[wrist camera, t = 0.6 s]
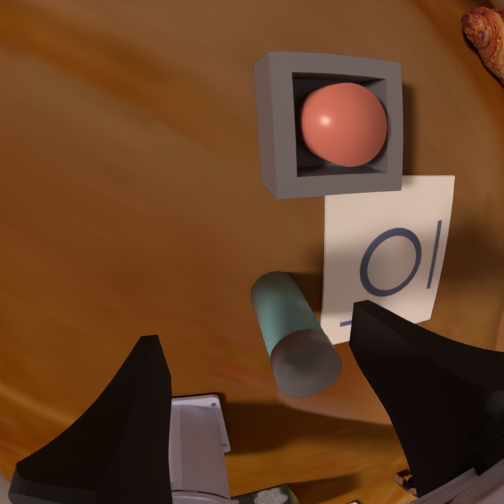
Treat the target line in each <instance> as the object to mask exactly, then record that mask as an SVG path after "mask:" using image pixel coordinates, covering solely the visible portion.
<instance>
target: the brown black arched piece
mask: <svg viewBox="0 0 504 504" xmlns="http://www.w3.org/2000/svg"><path fill="white" fill-rule="evenodd" d="M394 481H396V482H397V483H398V485H399V486H401V487H402V488H403V489H404V490H406V491H408V492H409V493H412V495H413V496H415V497H417V493H416V489H415V485H414V481H413V478H412V477H410V478H409V479H408V482H407V481H406V480H405V479H404V477H401V476H399V474H398V473H396V474H395V476H394Z"/></svg>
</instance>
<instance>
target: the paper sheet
mask: <svg viewBox="0 0 504 504" xmlns="http://www.w3.org/2000/svg"><path fill="white" fill-rule="evenodd" d="M454 179H455V176H453V175H402V188H401V191H387V192H369V193H354V194H340V195H326V196H325V236H324V269H323V292H322V310H321V325H320V326H321V327H322V329H323V331H324V333H325V334H326V335H327V336H328V338H329V339H330V341H331V343H332V344H337V343H341V342H345V341H349V340H350V331H351V323H352V314H353V304H354V302H359V301H363V300H370V301H372V302H374V303H376V304H378V305H380V306H382V307H384V308H386V309H388V310H390V311H391V312H393V313H395V314H397V315H399V316H401V317H403V318H404V319H406V320H408V321H410V322H412V323H414V324H415V323H418V322H421V321H425V320H428V319H430V317H431V313H432V309H433V305H434V301H435V297H436V293H437V289H438V284H439V280H440V275H441V270H442V265H443V260H444V255H445V249H446V243H447V237H448V231H449V224H450V217H451V209H452V200H453V190H454Z"/></svg>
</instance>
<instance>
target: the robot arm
mask: <svg viewBox="0 0 504 504" xmlns="http://www.w3.org/2000/svg"><path fill="white" fill-rule="evenodd" d="M349 345H350V348H351V350H352V352H353V355H354V357H355V359H356V361H357V364H358V365H359V367H360V369H361V371H362V372H363V374H364V376H365V377H366V379H367V380H368V382H369V384H370V385H371V387H372V388H373V389H374V391H375V393H376V395H377V396H378V398H379V400H380V401H381V403H382V404H383V406H384V408H385V409H386V411H387V413H388V415H389V417H390V419H391V422H392V424H393V426H394V428H395V431H396V433H397V435H398V438H399V440H400V443H401V445H402V448H403V450H404V453H405V456H406V459H407V462H408V465H409V468H410V471H411V474H412V478H413V481H414V485H415V489H416V493H417V497H418V499H416V500H414V501H412V502H410V503H408V504H504V352H498V351H492V350H487V349H482V348H478V347H474V346H470V345H466V344H463V343H460V342H457V341H454V340H451V339H448V338H446V337H443V336H440V335H438V334H436V333H433V332H431V331H429V330H427V329H425V328H422V327H420V326H418V325H416V324H414V323H412V322H410V321H408V320H406V319H404V318H403V317H401V316H399V315H397V314H395V313H393V312H391V311H390V310H388V309H386V308H384V307H382V306H380V305H378V304H376V303H374V302H372V301H370V300H363V301H359V302H354V304H353V314H352V323H351V331H350V340H349ZM230 450H231V448H230V444H229V440H228V435H227V431H226V427H225V423H224V418H223V414H222V410H221V405H220V401H219V397H218V396H217V395H204V396H194V397H184V398H172V389H171V375H170V372H169V369H168V366H167V363H166V360H165V357H164V354H163V351H162V347H161V344H160V341H159V338H158V335H149V336H141V337H140V339H139V340H138V342H137V343H136V345H135V346H134V348H133V349H132V351H131V352H130V354H129V356H128V357H127V359H126V360H125V362H124V363H123V365H122V366H121V368H120V369H119V370H118V372H117V373H116V375H115V376H114V378H113V379H112V380H111V382H110V383H109V384H108V386H107V387H106V388H105V390H104V391H103V392H102V394H101V395H100V396H99V397H98V398H97V400H96V401H95V402H94V403H93V404H92V405H91V406H90V407H89V408H88V409H87V411H86V412H85V413H84V414H83V415H82V416H81V417H80V418H78V419H77V420H76V421H75V422H74V423H73V424H72V425H71V426H70V427H69V428H67V429H66V430H65V431H64V432H63V433H62V434H60V435H59V436H58V437H57V438H55V439H54V440H53V441H51V442H50V443H48V444H47V445H46V446H44V447H43V448H41V449H40V450H38V451H36V452H35V453H33V454H31V455H30V456H28V457H26V458H25V459H23V460H21V461H19V462H17V464H16V467H15V471H14V474H13V478H12V481H11V485H10V489H9V493H8V497H9V500H10V501H11V503H12V504H239V501H238V500H231V498H230V491H229V485H228V478H227V472H226V465H225V458H224V452H229V451H230Z"/></svg>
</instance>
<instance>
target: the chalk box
mask: <svg viewBox="0 0 504 504" xmlns="http://www.w3.org/2000/svg"><path fill="white" fill-rule="evenodd" d="M231 500H238V501H239V504H300V503H299V499H298V498H297V497H296V495H295V494H294V493H293V492H292V490H291V489H290V488H289V487H288V486H287V485H286V484H284V485H281V486H277V487H274V488H270V489H267V490H263V491H259V492H254V493H250V494H246V495H241V496H236V497H231Z"/></svg>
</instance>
